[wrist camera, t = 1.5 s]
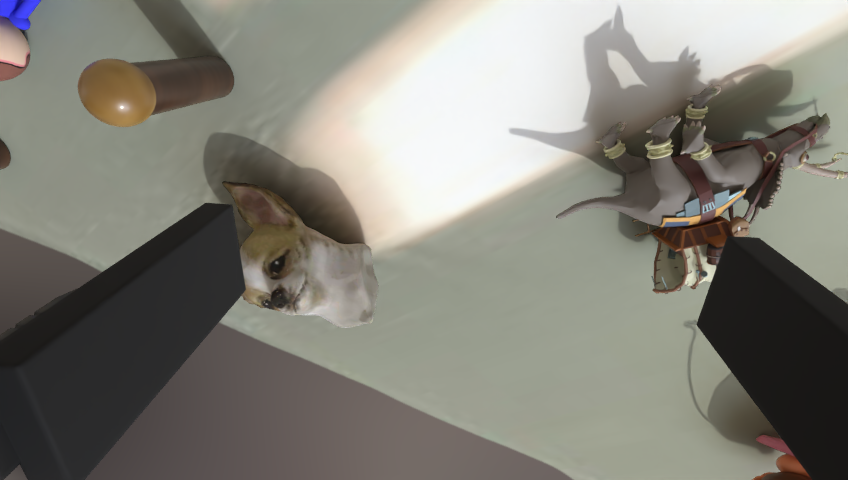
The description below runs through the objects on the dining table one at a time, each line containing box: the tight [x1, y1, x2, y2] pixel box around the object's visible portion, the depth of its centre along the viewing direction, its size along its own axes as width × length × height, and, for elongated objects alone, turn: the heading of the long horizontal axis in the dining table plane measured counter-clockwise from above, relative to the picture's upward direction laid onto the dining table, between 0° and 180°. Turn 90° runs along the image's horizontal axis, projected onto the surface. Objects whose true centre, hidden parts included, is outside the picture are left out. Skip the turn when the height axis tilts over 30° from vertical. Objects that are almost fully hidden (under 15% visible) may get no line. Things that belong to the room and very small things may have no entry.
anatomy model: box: [753, 435, 812, 480], centre depth 39 cm, size 10×14×15 cm
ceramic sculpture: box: [222, 181, 379, 328], centre depth 37 cm, size 11×9×15 cm
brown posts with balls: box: [0, 56, 234, 169], centre depth 31 cm, size 4×26×12 cm, turn 106°
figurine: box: [556, 85, 848, 294], centre depth 33 cm, size 20×6×17 cm
